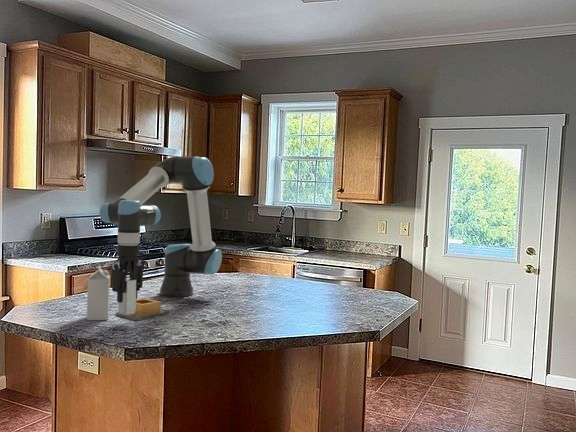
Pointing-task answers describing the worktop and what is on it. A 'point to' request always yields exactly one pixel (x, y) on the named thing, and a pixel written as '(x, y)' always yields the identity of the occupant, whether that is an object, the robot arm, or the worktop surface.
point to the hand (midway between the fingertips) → (127, 309)
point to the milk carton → (98, 295)
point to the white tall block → (129, 297)
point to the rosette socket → (145, 310)
